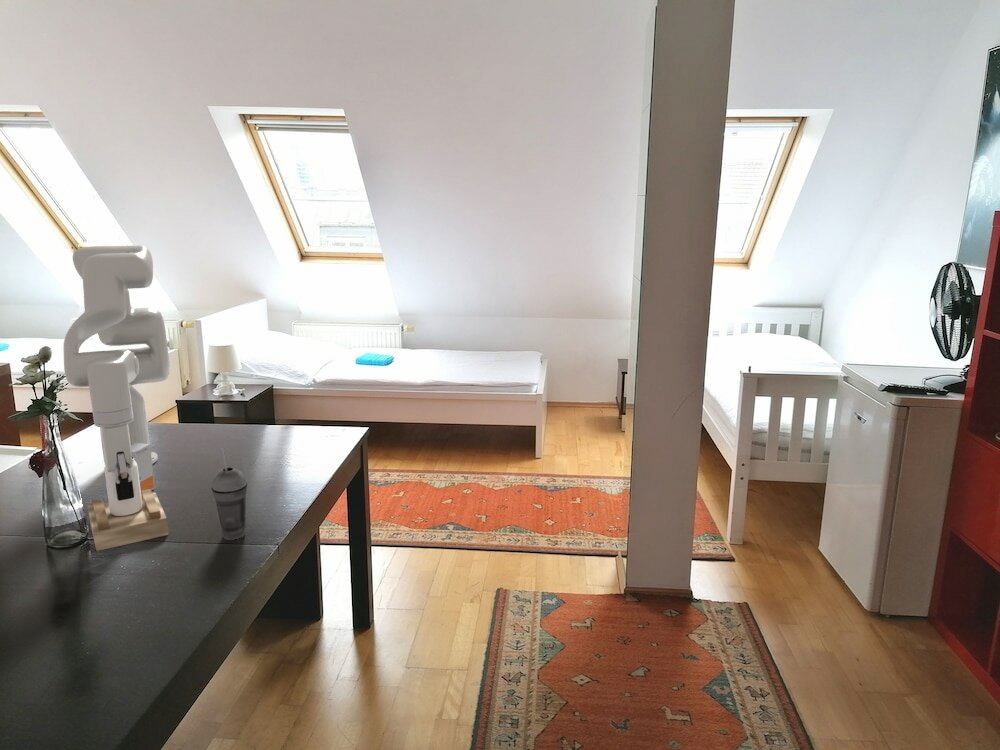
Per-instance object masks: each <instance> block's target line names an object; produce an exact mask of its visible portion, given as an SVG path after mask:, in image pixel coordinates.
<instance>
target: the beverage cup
mask: <svg viewBox="0 0 1000 750" xmlns="http://www.w3.org/2000/svg"><path fill="white" fill-rule="evenodd" d="M220 450H221V455H222V460H223V467H224V468H222V469H220V470H219V471H217V472H216V474H214V477H213V480H212V483H211V491H212V495H213V497H214V500H215V503H216V504H215V505H216V509H217V514H218V517H219V518H218V520H219V524H220V529H221V530H220V531H221V533H222V537H224V538H223V539H224V540H225V541H235V539H237V540H239V538H240V539H242V538H244V537H245V536H244V535H246V520H247V519H246V518H247V517H246V513H247V511H246V507H247V505H246V504H247V503H246V500H247V499H246V498H247V497H246V496H247V495H246V494H247V490H248V482H247V479H246V477H245V475H244V474H243V472H242V471H240V470H239V469H238V468H234V467H228V466H227V461H226V455H225V448H224V447H221V448H220ZM243 536H244V537H243ZM241 537H242V538H241Z"/></svg>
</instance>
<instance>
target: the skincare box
mask: <svg viewBox="0 0 1000 750" xmlns="http://www.w3.org/2000/svg"><path fill="white" fill-rule="evenodd" d="M151 452H152V450H151V443H150V444H143V443H135V444H133V445H131V453H132V456H133V457H134V460H135V461H136V463H137V466H138V474H139V482H140V490H141V491H142V490H147V489H151V491H153V490H155V488H156V486H155V476H154V468H153V464H152V457H151Z"/></svg>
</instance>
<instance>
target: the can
mask: <svg viewBox="0 0 1000 750" xmlns="http://www.w3.org/2000/svg"><path fill="white" fill-rule="evenodd" d="M126 467H127V466H126ZM116 468H117V469H119V466H117V467H116ZM129 470H130V476H131V480H132V483H133V491H134V498H131V499H126V500H121V501H119V500H118V499H117V492H116V485H115V483H117V481H116V475H115V470H113V471H111V472H108V471H107V469H106V466H105V465H104V477H105V478H104V479H105V485H106V486H105V487H106V493H107V500H108V501H107V502H109V509H110V513H111V514H112V515H114V516H128V515H132V514H135V513H137V512H139V511H140V510H141V509H142V498H141V490H140V482H139V474H138V466H137V463H136V461H135V460H134V457H133V456H132V467H131V468H129ZM119 474H120V472H118V475H119Z"/></svg>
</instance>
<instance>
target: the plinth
mask: <svg viewBox="0 0 1000 750" xmlns="http://www.w3.org/2000/svg"><path fill="white" fill-rule="evenodd" d="M141 498H142V509H141V510H140V511H139V512H137V513H135V514H132V515H128V516H114V515H112V514H111V513H110V509H109V502H108V501H106V502H104V501H103V498H102V497H101V498H97V499H92V500H91V503H92V504H91V505H87V512H88V519H89V524H90V529H91V533H92V537H93V538H92V539H93V541H94V547H95V550H96V552H100V551H103V550H107V549H112V548H117V547H121V546H126V545H129V544H133V543H134V544H135V543H138V542H143V541H146V540H151V539H155V538H160V537H163V536H169V525H168V519H167V515H166V513H165V511H164V509H163V507H162V504H161V502H160V500H159V498H158V495H157V492H153V490H151V489H147V490H142V491H141Z"/></svg>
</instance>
